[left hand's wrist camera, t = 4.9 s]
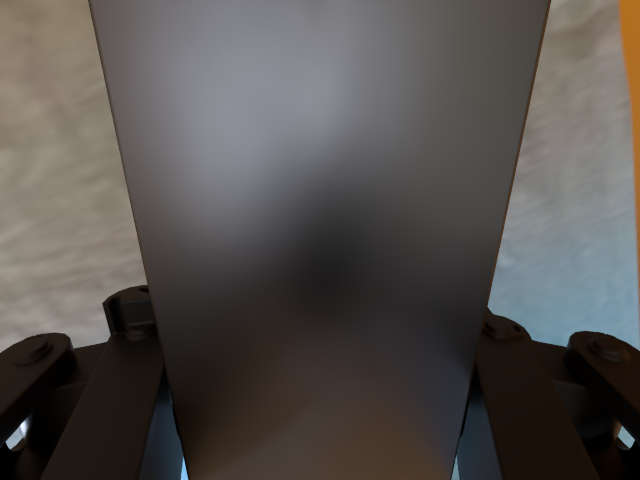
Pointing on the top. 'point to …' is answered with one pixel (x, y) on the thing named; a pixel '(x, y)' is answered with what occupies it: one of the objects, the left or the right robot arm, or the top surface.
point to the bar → (319, 217)
